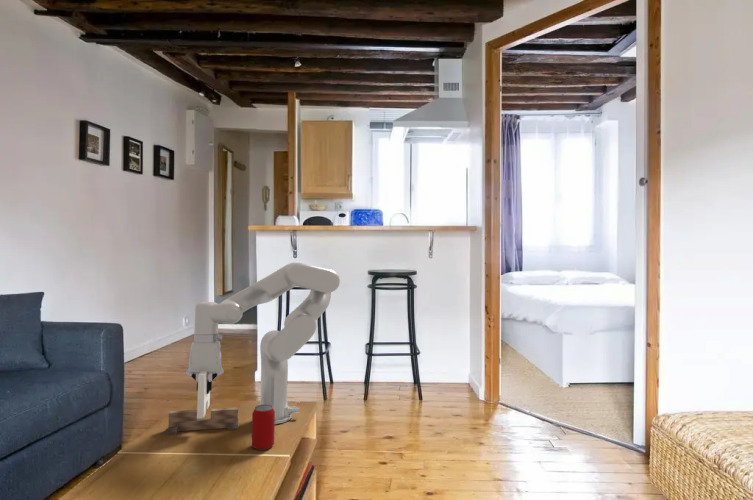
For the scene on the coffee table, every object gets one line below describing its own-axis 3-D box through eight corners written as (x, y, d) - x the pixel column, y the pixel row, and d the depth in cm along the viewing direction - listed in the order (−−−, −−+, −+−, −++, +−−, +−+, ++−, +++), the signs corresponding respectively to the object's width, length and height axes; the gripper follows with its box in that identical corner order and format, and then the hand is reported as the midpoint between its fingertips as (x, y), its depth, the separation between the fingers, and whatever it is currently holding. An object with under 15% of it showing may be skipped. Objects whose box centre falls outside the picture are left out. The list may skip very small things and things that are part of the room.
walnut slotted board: (238, 422, 156) (238, 405, 156) (236, 429, 150) (237, 411, 150) (171, 427, 151) (171, 409, 151) (166, 433, 145) (167, 415, 145)
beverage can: (268, 440, 141) (268, 402, 141) (278, 447, 136) (278, 407, 136) (247, 445, 137) (248, 406, 137) (257, 453, 131) (258, 412, 132)
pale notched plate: (209, 404, 157) (210, 365, 158) (203, 418, 144) (204, 374, 144) (203, 405, 157) (204, 365, 157) (196, 418, 143) (198, 375, 144)
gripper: (231, 336, 157) (229, 388, 156) (183, 337, 153) (181, 390, 152) (229, 340, 149) (227, 395, 149) (178, 340, 146) (176, 397, 145)
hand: (204, 392), depth 151 cm, fingers closed on pale notched plate, 2 cm apart
